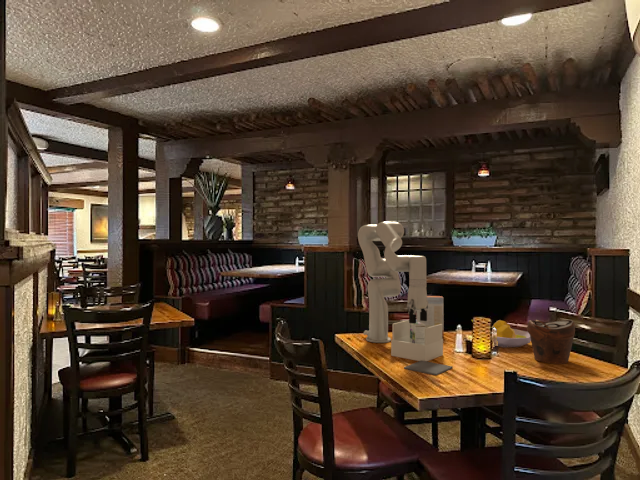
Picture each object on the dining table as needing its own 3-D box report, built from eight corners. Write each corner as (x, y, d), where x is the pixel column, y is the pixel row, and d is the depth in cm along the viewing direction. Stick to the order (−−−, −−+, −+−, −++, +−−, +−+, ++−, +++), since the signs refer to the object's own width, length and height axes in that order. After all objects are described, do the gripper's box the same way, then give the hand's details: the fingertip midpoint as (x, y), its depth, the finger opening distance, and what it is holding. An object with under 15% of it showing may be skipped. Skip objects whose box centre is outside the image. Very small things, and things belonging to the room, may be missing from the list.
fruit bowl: (541, 344, 233) (541, 321, 233) (519, 353, 214) (519, 328, 214) (487, 336, 253) (487, 315, 253) (462, 343, 233) (462, 321, 233)
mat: (404, 368, 187) (404, 367, 187) (421, 361, 198) (421, 360, 198) (436, 375, 178) (436, 373, 178) (452, 368, 189) (452, 366, 189)
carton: (391, 355, 208) (391, 324, 208) (410, 349, 221) (410, 319, 221) (424, 362, 198) (425, 328, 198) (442, 354, 210) (443, 323, 210)
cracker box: (442, 333, 258) (442, 295, 258) (443, 336, 252) (444, 297, 252) (416, 333, 259) (416, 295, 259) (417, 335, 253) (417, 296, 253)
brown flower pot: (516, 357, 207) (517, 316, 206) (549, 353, 214) (550, 314, 214) (549, 368, 190) (550, 324, 190) (585, 363, 198) (586, 321, 197)
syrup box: (408, 353, 212) (409, 321, 212) (421, 353, 212) (421, 321, 212) (412, 357, 206) (412, 324, 206) (425, 356, 207) (425, 323, 207)
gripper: (419, 282, 218) (420, 319, 218) (400, 284, 205) (400, 323, 205) (434, 282, 213) (435, 320, 213) (415, 285, 200) (416, 325, 200)
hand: (418, 322), depth 209 cm, fingers open, 9 cm apart
